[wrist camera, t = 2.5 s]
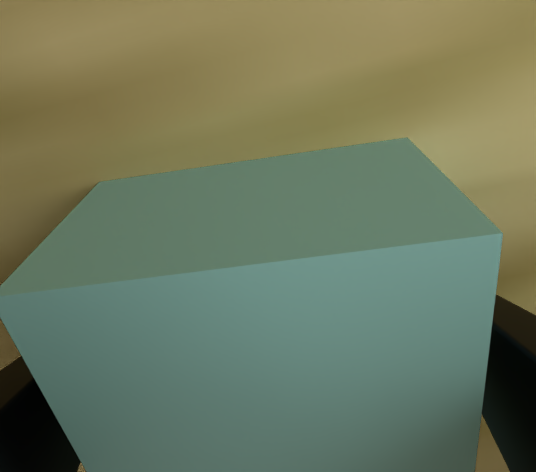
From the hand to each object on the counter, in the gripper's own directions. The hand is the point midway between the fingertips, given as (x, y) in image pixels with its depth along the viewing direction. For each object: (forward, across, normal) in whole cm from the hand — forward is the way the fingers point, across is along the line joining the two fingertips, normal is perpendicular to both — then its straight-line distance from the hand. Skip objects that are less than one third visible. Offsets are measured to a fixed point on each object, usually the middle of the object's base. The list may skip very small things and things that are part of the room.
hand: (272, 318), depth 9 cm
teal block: (+1, 0, 0) cm, 1 cm away
